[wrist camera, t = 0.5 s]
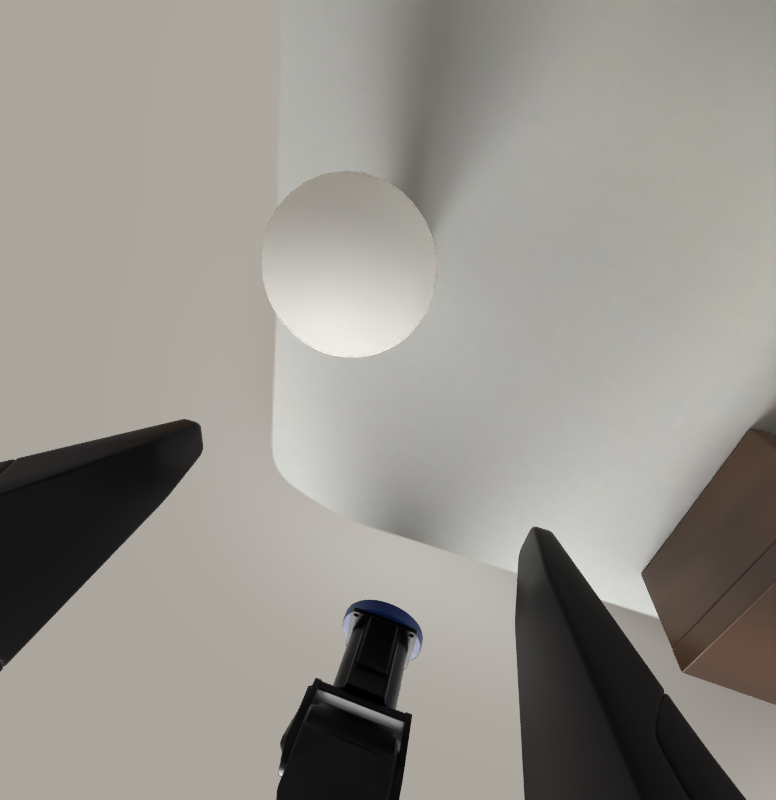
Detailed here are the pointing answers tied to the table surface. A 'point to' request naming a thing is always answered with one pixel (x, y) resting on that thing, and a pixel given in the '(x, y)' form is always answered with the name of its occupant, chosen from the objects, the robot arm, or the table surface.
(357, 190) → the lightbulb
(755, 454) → the dark wooden block
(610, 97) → the table surface
